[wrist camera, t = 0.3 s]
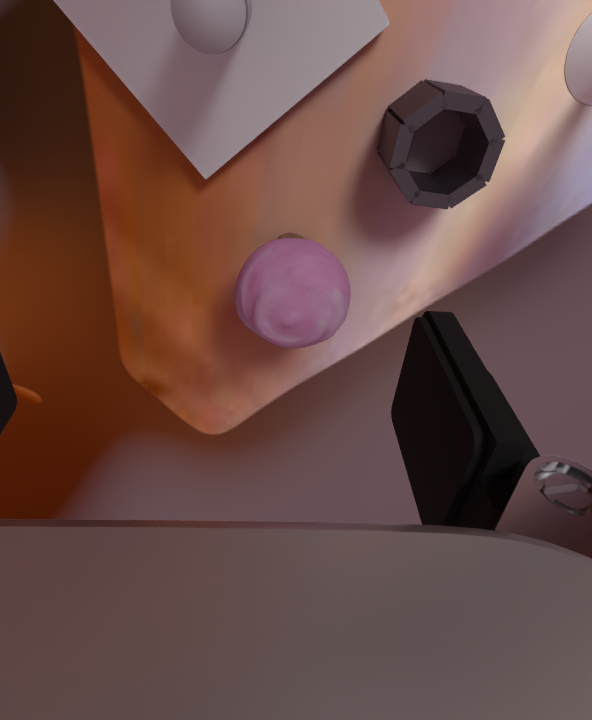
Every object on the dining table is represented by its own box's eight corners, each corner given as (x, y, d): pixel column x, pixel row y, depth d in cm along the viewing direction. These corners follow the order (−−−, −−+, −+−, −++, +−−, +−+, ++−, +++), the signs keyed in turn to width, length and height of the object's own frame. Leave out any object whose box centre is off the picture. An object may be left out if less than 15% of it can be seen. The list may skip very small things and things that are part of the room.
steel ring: (450, 57, 33) (474, 66, 29) (490, 146, 36) (517, 164, 32) (362, 126, 35) (373, 143, 31) (408, 203, 39) (423, 226, 35)
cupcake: (222, 270, 42) (210, 334, 34) (275, 188, 38) (276, 239, 30) (304, 317, 45) (310, 385, 37) (361, 246, 41) (382, 306, 33)
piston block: (249, -247, 24) (238, -359, 17) (386, 22, 31) (421, 30, 24) (53, -10, 30) (-22, -13, 22) (208, 173, 37) (190, 219, 29)
